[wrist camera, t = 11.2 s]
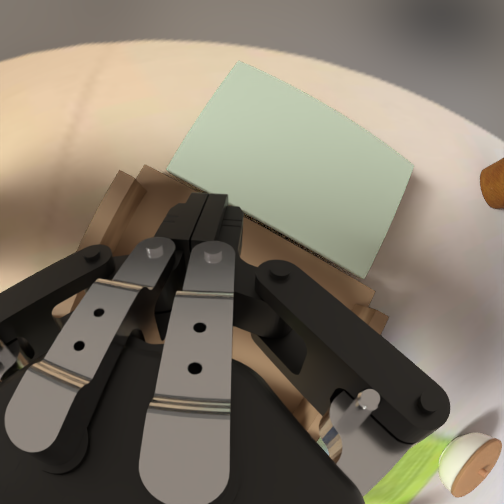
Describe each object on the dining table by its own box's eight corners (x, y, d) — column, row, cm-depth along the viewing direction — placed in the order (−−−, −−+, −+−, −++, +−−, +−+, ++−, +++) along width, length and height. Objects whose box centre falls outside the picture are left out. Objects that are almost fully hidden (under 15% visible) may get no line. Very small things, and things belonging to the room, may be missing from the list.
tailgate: (364, 278, 24) (414, 165, 24) (166, 169, 23) (238, 60, 23) (354, 275, 27) (402, 169, 26) (171, 174, 25) (237, 72, 25)
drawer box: (297, 423, 28) (324, 470, 19) (71, 310, 25) (22, 326, 16) (369, 293, 29) (422, 303, 20) (141, 168, 27) (114, 131, 18)
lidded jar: (481, 428, 32) (515, 446, 22) (447, 477, 31) (476, 501, 21) (456, 418, 31) (496, 440, 21) (416, 474, 30) (449, 503, 20)
